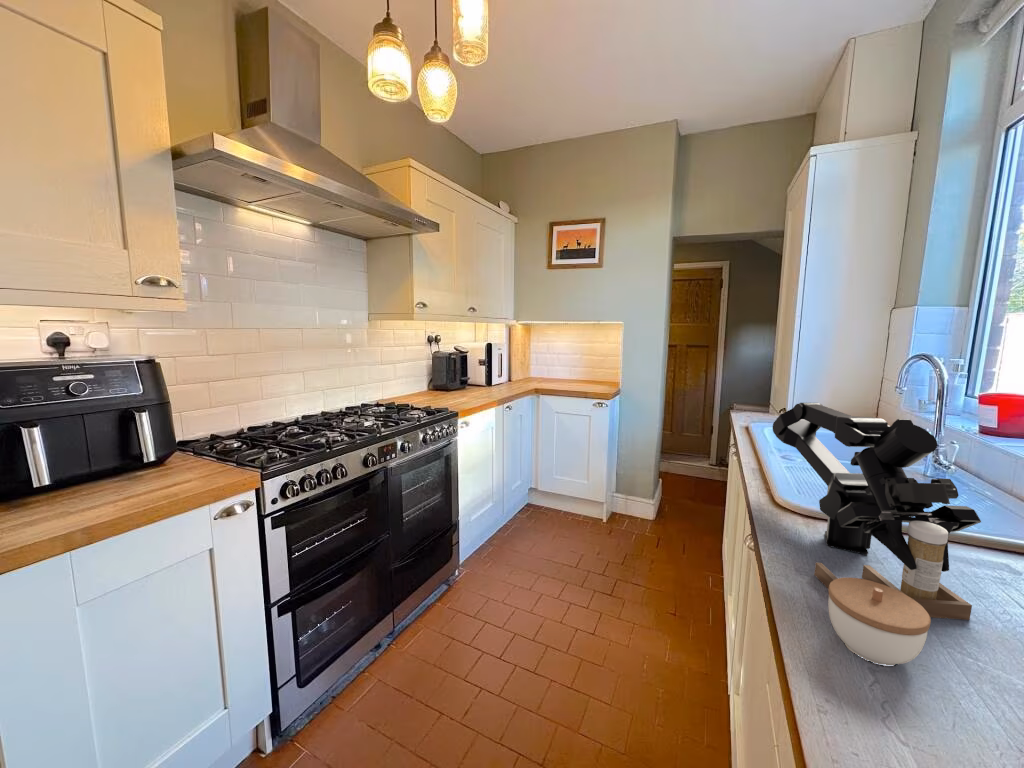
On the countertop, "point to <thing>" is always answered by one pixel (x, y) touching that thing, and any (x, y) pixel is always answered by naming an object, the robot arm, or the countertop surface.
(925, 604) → the walnut lanes
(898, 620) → the lidded jar
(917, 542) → the sprinkles bottle
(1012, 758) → the countertop surface
